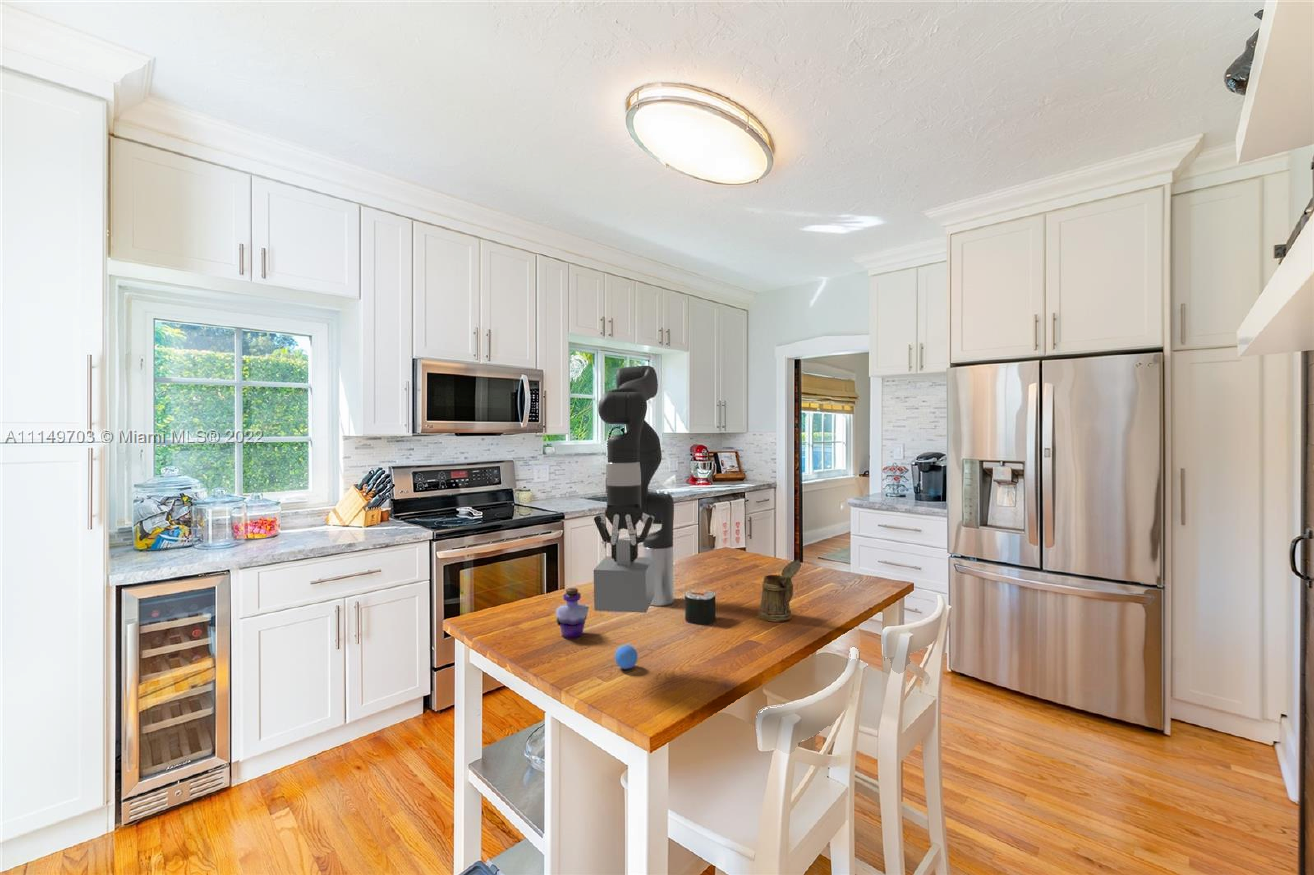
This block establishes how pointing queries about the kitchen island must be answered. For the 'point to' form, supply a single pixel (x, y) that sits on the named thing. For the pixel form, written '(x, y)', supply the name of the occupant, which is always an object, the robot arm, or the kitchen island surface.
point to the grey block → (624, 582)
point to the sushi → (700, 607)
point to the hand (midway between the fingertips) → (624, 560)
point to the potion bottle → (572, 615)
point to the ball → (626, 657)
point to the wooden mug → (778, 594)
